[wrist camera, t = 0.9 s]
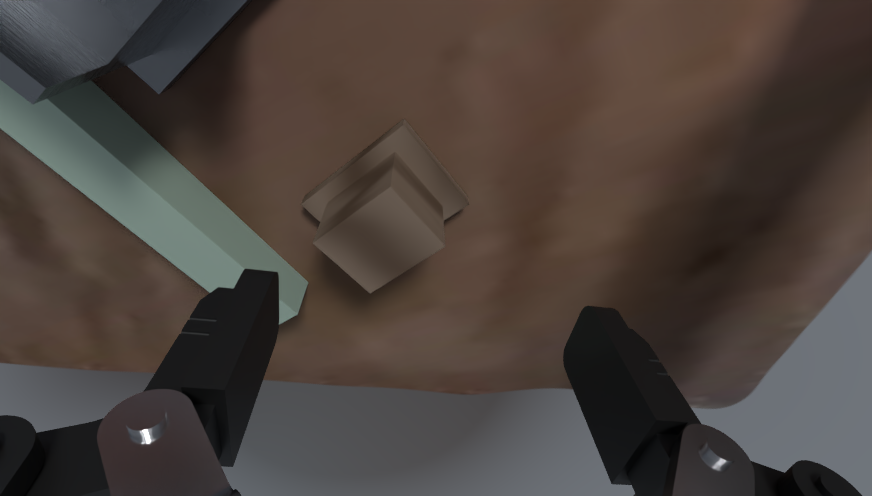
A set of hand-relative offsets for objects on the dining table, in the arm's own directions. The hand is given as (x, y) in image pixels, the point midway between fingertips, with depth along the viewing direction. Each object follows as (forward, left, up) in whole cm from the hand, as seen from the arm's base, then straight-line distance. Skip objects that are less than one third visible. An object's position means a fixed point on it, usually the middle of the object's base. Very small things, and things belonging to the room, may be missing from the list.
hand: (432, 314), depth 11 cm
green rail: (+17, -7, -19) cm, 27 cm away
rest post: (+6, +3, -19) cm, 20 cm away
